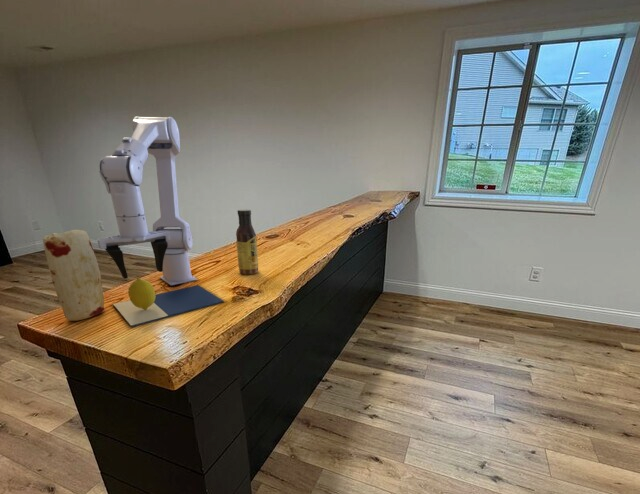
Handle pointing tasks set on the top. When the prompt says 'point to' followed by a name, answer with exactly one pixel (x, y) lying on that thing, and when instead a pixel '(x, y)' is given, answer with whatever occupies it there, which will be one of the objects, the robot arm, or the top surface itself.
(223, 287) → the top surface
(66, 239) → the food model
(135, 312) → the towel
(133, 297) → the lemon
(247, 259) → the sauce bottle
